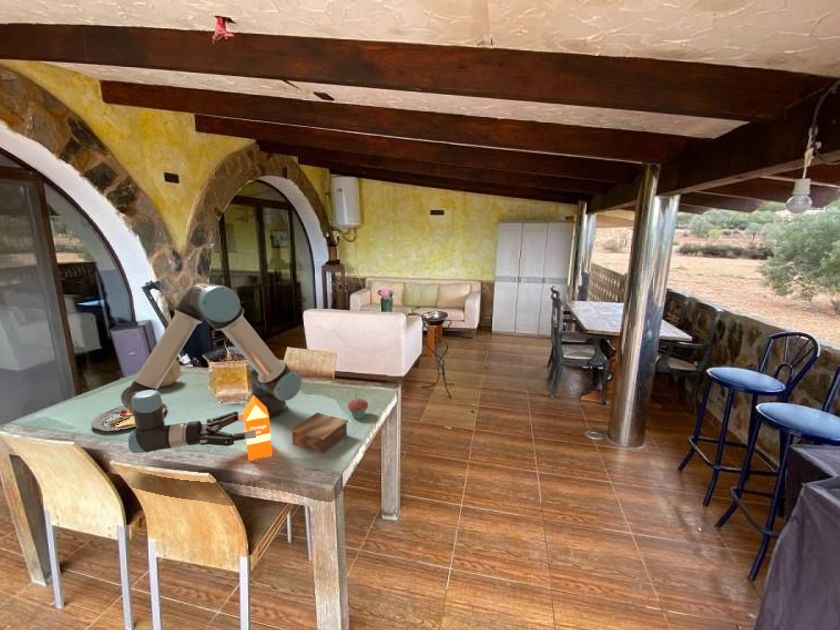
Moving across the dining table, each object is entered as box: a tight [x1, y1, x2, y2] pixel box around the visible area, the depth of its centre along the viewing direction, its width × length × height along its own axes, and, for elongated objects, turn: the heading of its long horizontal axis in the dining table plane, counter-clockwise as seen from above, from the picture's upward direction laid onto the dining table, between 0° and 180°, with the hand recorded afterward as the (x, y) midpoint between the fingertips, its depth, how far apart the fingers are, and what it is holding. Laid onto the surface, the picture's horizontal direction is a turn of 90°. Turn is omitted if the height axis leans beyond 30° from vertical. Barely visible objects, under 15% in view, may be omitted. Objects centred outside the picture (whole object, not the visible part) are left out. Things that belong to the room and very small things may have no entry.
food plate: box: [90, 402, 168, 432], centre depth 159 cm, size 25×23×4 cm
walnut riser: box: [289, 412, 349, 454], centre depth 144 cm, size 15×15×6 cm
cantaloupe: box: [158, 360, 182, 388], centre depth 192 cm, size 15×15×15 cm
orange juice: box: [242, 395, 273, 461], centre depth 134 cm, size 8×9×20 cm
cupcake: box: [347, 391, 369, 419], centre depth 162 cm, size 9×8×12 cm
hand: (257, 423), depth 133 cm, fingers open, 13 cm apart
